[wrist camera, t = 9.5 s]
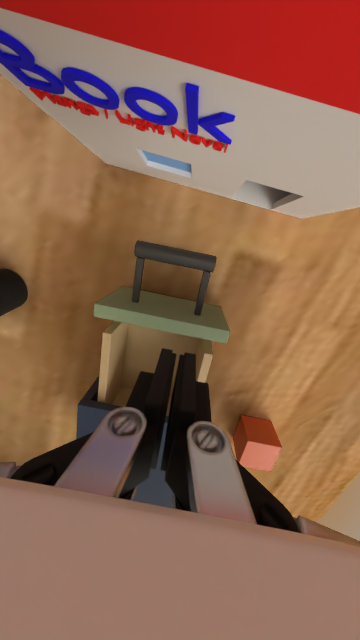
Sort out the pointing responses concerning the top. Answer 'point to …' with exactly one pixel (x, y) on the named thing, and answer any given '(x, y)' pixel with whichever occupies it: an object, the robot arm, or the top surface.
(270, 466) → the block
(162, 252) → the drawer
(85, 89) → the red-lidded white box
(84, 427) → the cabinet
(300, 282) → the top surface
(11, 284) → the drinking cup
